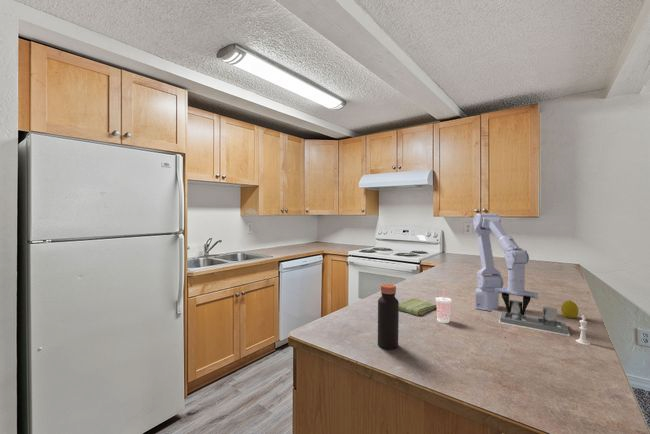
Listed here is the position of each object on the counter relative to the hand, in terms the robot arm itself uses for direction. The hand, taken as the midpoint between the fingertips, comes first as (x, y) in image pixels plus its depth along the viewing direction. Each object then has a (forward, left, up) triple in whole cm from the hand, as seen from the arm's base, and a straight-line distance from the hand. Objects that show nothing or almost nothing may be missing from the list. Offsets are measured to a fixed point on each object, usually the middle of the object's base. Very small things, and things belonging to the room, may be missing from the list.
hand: (515, 313), depth 120 cm
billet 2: (+11, 0, -3) cm, 11 cm away
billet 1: (0, 0, -2) cm, 2 cm away
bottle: (-34, -48, -4) cm, 59 cm away
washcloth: (-38, -5, -5) cm, 39 cm away
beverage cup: (-24, -14, -4) cm, 29 cm away
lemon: (+19, +18, -4) cm, 26 cm away
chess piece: (+20, -10, -4) cm, 22 cm away
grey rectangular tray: (+6, 0, -4) cm, 7 cm away
